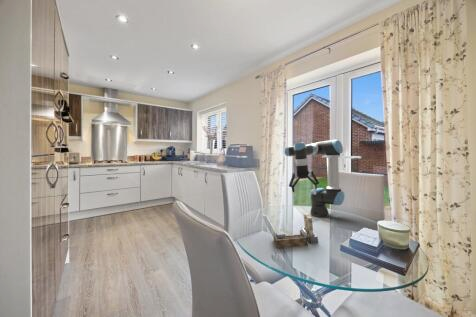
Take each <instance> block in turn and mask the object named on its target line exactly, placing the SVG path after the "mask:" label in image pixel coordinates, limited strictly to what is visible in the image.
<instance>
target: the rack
mask: <svg viewBox="0 0 476 317" xmlns="http://www.w3.org/2000/svg"><path fill="white" fill-rule="evenodd" d="M272 233H273V240H274V243H275V246H276V249H284V248H285V249H286V248H294V247H296V248H297V247H308V246H309V242H308V241H307V237H306V235H305V234H304V233H303V231H302V229H299V233H298V234H290V235H289V234H288V235H286V237H285V238H277V237H276V232H274V231H273V232H272Z"/></svg>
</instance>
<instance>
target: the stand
mask: <svg viewBox="0 0 476 317" xmlns="http://www.w3.org/2000/svg"><path fill="white" fill-rule="evenodd" d="M301 230H302V231H303V233H304V234H305V235H306V237H307V241H308V244H319V237H318V235H317V234H316V233H315V232H314V231H313V235H314V236H309V235H308V233H307V232H306V231H305V226H304V227H301Z"/></svg>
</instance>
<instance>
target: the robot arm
mask: <svg viewBox="0 0 476 317" xmlns="http://www.w3.org/2000/svg"><path fill="white" fill-rule="evenodd" d="M343 149H344V148H343V143H342V142H341V140H339V139H330V140H323V141H318V142H314V143H308V144H306V143H305V142H303V141H302V142H296V143H294V144H293V145H292V146H286V147H285V148H284V150H283V151H284V155H285V156H286V157H295V158H294V160H295V165H296V166H295V168H296V172H292V175H291V179H290V180H289V183H288V187H290V188H291V192H292V193H293V197H295V198H297V191H296V190H297V189H296V187H295V186H297V184H298V182H299V181H300V179H307V180H309V181H310V182H311V183H312V189H311V190H310V194H309V195H310V201H311V207H310V212H309V213H310V214H309V215H310V216H312V217H316V218H325V217H328V216H329V215H330V214H329V213H330V212H329V210H328V208H327V205H333V206H341V205H342V204H343V203H344V200H345V192H344V191H342V188H341V187H340V179H339V178H340V176H339V175H340V174H339V172H340V170H339V158H340V156H341V154H342V153H343V151H344V150H343ZM309 155H324V157H325V158H326V167H327V168H326V170H327V175H326V176H327V186H326V188H325V187H317V185H318V184H319V183H320V181H319V180H318V179H317V177H316V175H315V174H314V171H313V170H310V171H309V167H308V166H309V165H308V158H307V156H309ZM309 175H310V176H311V177H312V178H311V177H310V176H309ZM296 176H297V177H296ZM295 177H296V179H295Z"/></svg>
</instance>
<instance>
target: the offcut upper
mask: <svg viewBox="0 0 476 317" xmlns="http://www.w3.org/2000/svg"><path fill="white" fill-rule="evenodd" d="M275 234H276V237H277V238H285V237H286V236H287V235H286V233H285V232H284V230H283V231H276V232H275Z"/></svg>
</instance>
